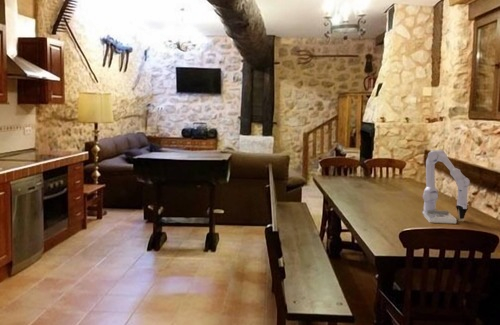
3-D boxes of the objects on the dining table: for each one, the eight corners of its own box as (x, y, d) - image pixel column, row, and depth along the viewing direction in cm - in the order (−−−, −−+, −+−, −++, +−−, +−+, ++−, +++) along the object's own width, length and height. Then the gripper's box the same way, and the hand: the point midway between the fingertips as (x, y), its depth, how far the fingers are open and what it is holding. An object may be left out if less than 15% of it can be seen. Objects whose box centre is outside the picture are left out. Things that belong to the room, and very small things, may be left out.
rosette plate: (423, 216, 322) (424, 209, 322) (449, 217, 320) (449, 210, 319) (429, 222, 304) (429, 215, 304) (456, 223, 302) (456, 216, 302)
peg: (457, 220, 312) (458, 209, 311) (462, 220, 311) (463, 209, 311) (458, 221, 309) (459, 210, 308) (464, 221, 308) (464, 210, 308)
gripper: (472, 199, 301) (471, 220, 302) (465, 195, 315) (464, 215, 316) (460, 198, 302) (459, 220, 303) (454, 194, 316) (453, 215, 317)
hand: (461, 217), depth 310 cm, fingers closed on peg, 3 cm apart
